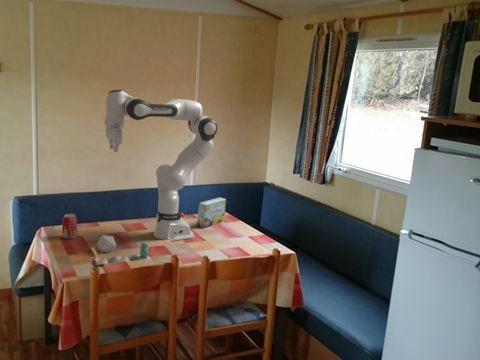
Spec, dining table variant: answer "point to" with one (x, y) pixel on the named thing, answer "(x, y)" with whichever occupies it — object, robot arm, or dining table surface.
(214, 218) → the snack box
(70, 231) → the soda can
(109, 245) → the die
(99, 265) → the track
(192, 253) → the dining table surface
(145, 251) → the pawn
